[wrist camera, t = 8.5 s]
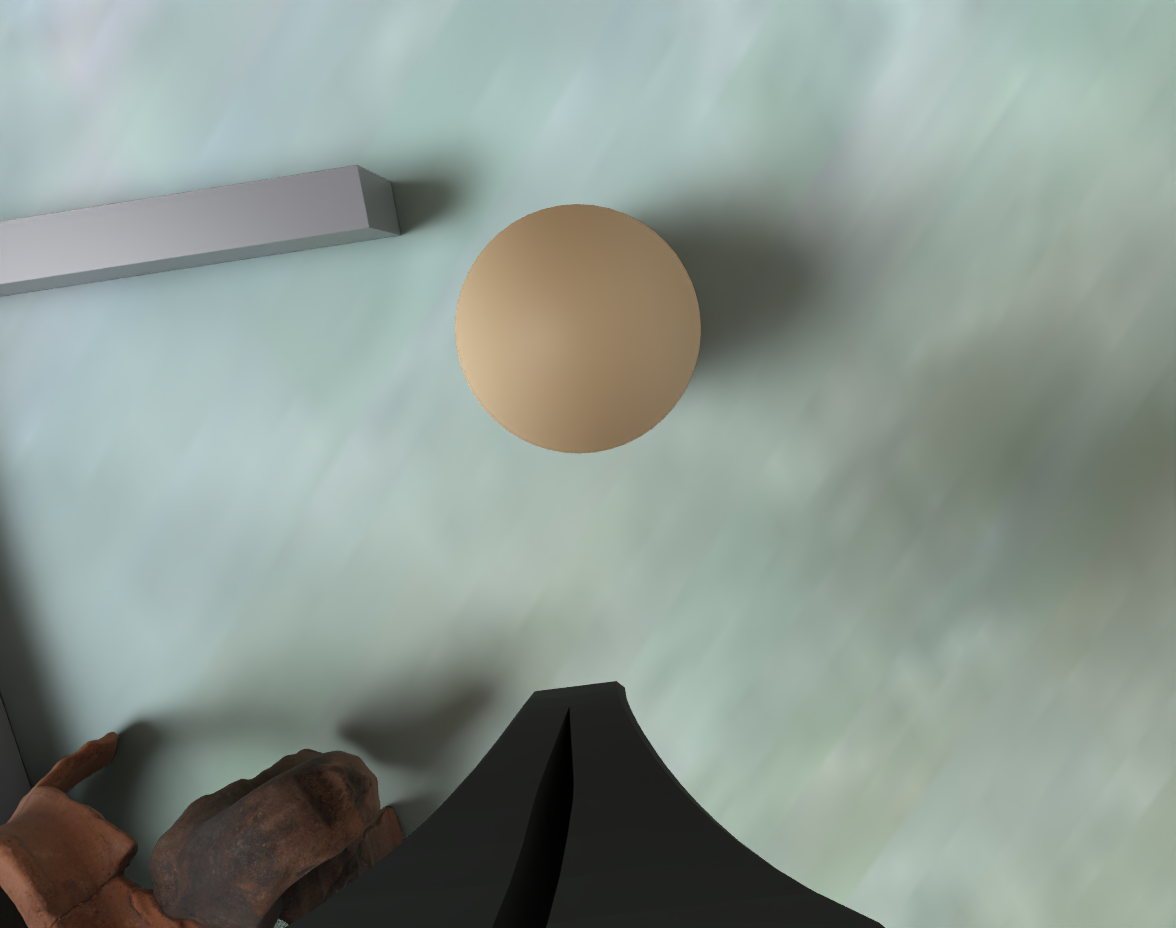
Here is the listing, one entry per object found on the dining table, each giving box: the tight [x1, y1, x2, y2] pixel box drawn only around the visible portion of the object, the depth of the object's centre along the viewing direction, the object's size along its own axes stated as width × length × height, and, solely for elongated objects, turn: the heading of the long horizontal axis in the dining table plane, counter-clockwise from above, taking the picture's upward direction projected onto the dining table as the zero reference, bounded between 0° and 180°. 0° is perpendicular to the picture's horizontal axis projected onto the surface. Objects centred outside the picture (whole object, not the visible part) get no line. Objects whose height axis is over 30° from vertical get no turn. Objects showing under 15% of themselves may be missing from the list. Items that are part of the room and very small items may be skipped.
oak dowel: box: [455, 204, 701, 453], centre depth 16 cm, size 4×4×6 cm
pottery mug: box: [0, 732, 404, 928], centre depth 19 cm, size 12×10×8 cm
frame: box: [0, 165, 401, 825], centre depth 20 cm, size 14×22×2 cm, turn 8°
